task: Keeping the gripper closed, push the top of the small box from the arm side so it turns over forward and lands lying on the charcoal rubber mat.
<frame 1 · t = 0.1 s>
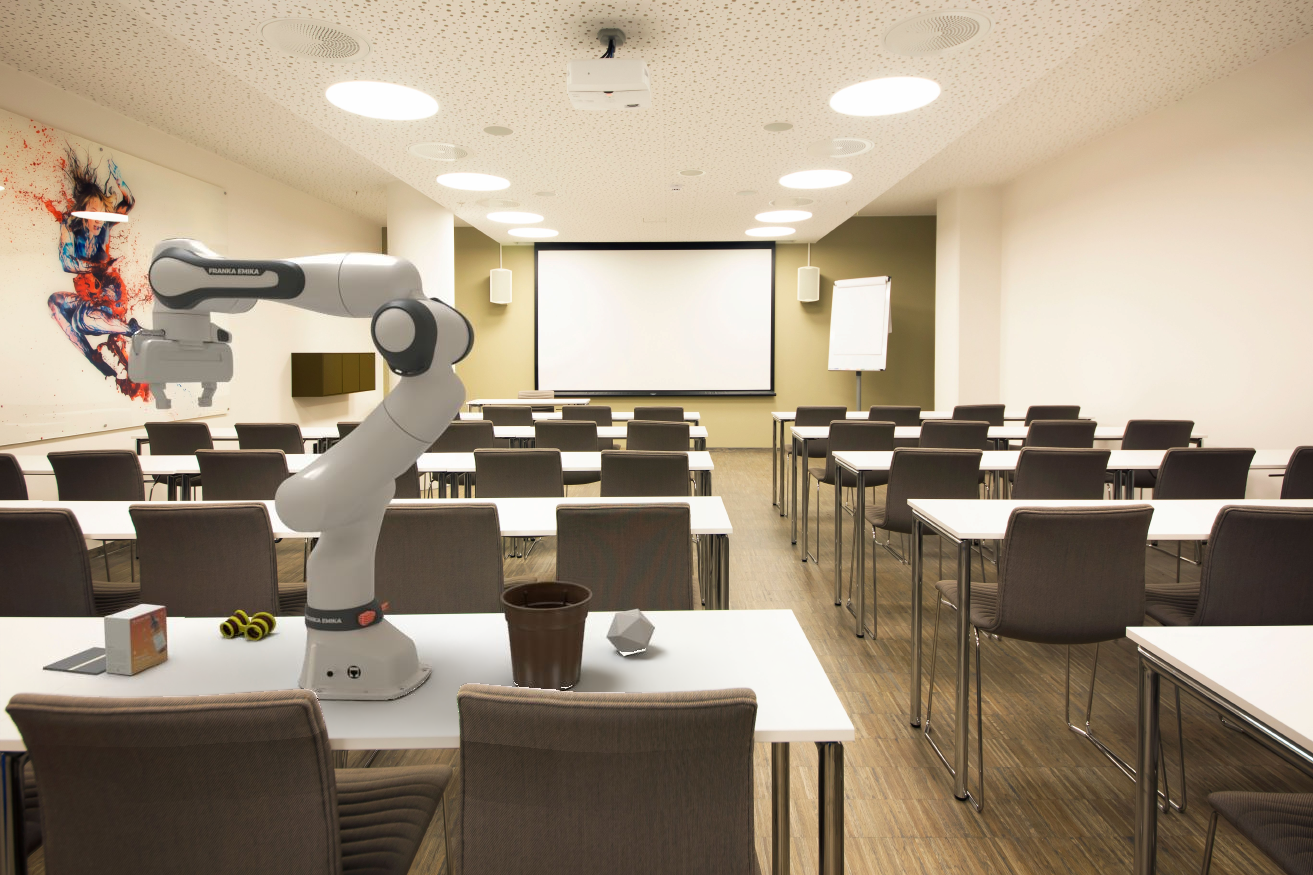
hand: (185, 407, 133), 48 cm above the table, fingers open, 8 cm apart
plant pot: (545, 681, 133), on the table
die: (630, 652, 148), on the table
mat: (95, 661, 137), on the table
small box: (138, 667, 135), on the table
opera glasses: (247, 637, 152), on the table
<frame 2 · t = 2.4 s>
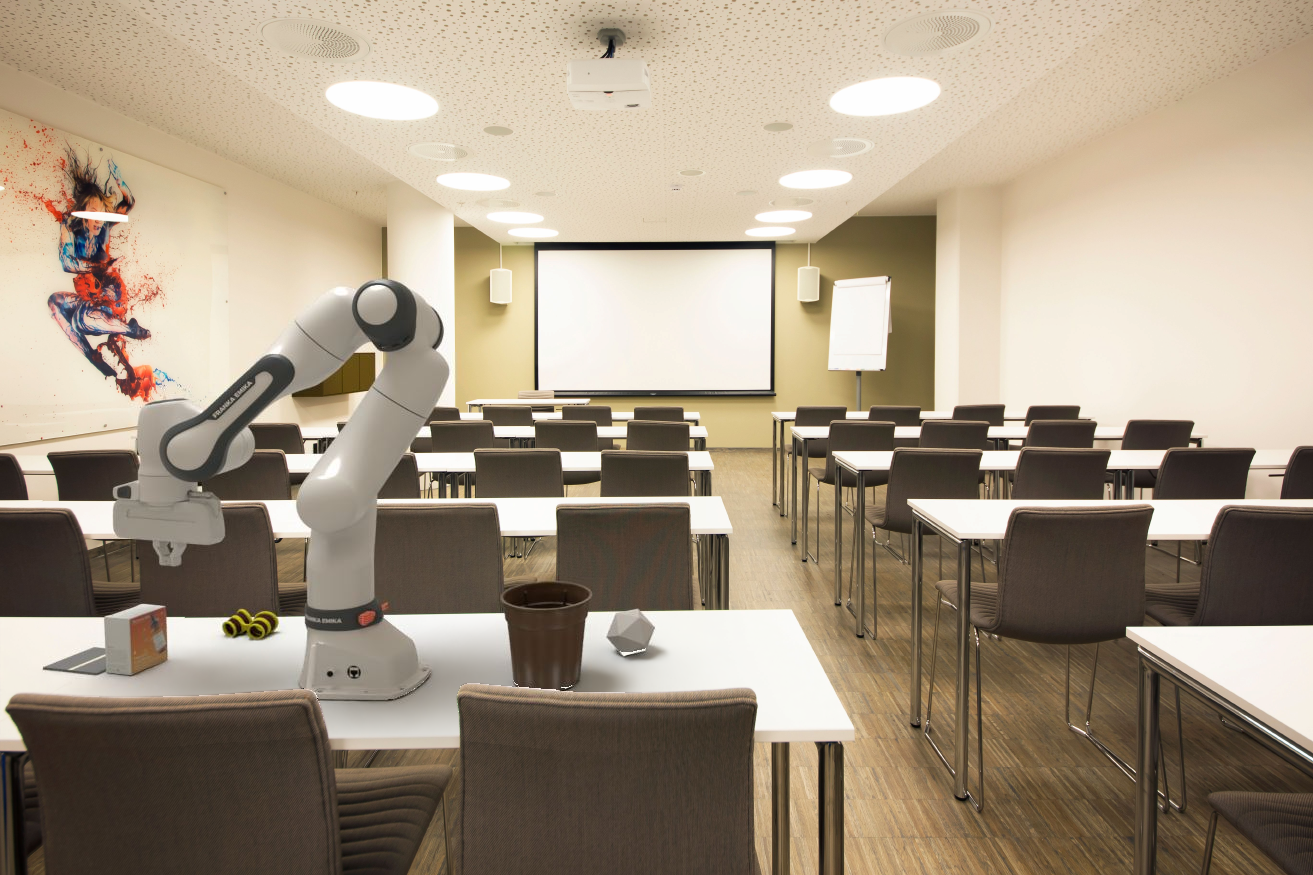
hand: (170, 564, 132), 20 cm above the table, fingers closed
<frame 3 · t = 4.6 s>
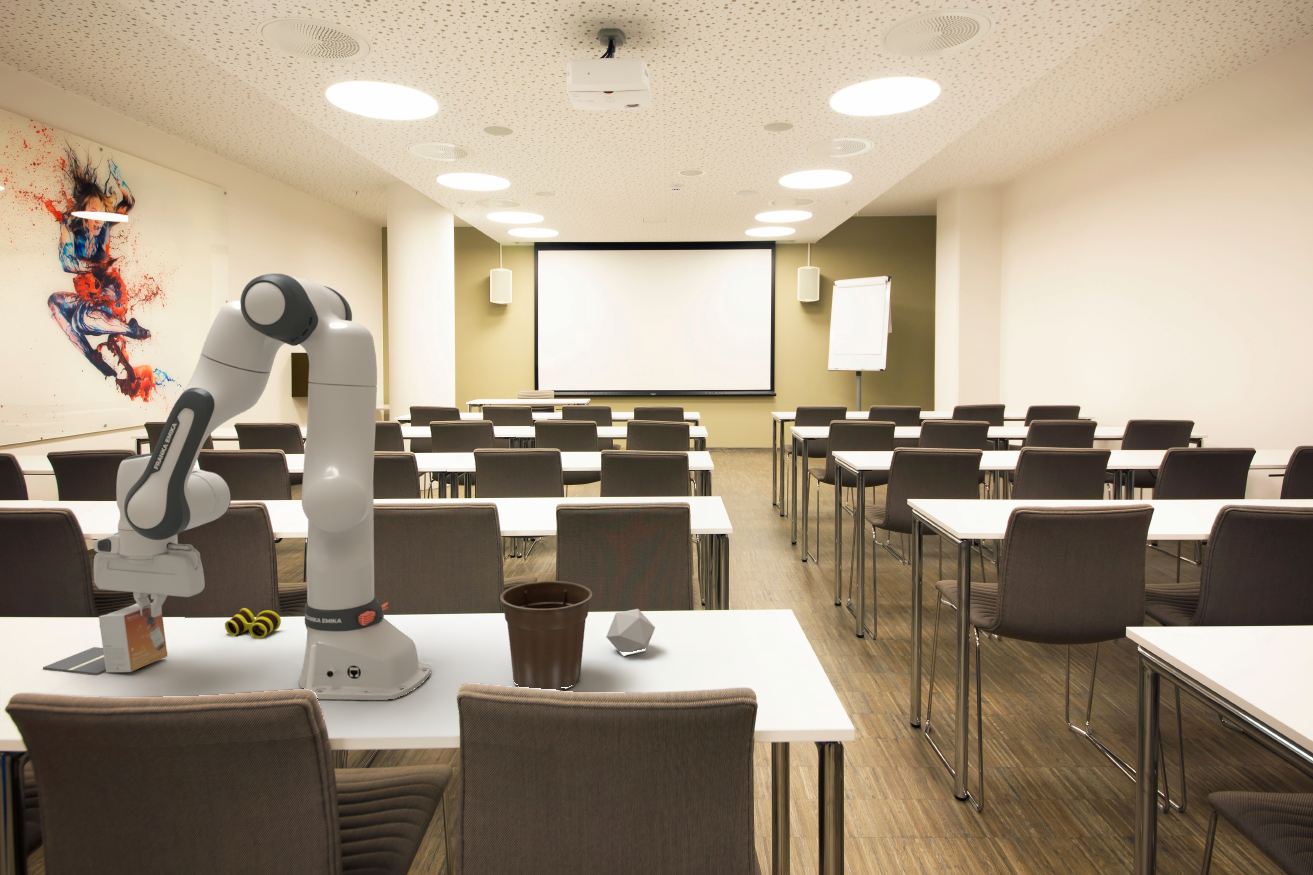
hand: (151, 615, 134), 10 cm above the table, fingers closed
small box: (138, 665, 135), on the table, touching gripper
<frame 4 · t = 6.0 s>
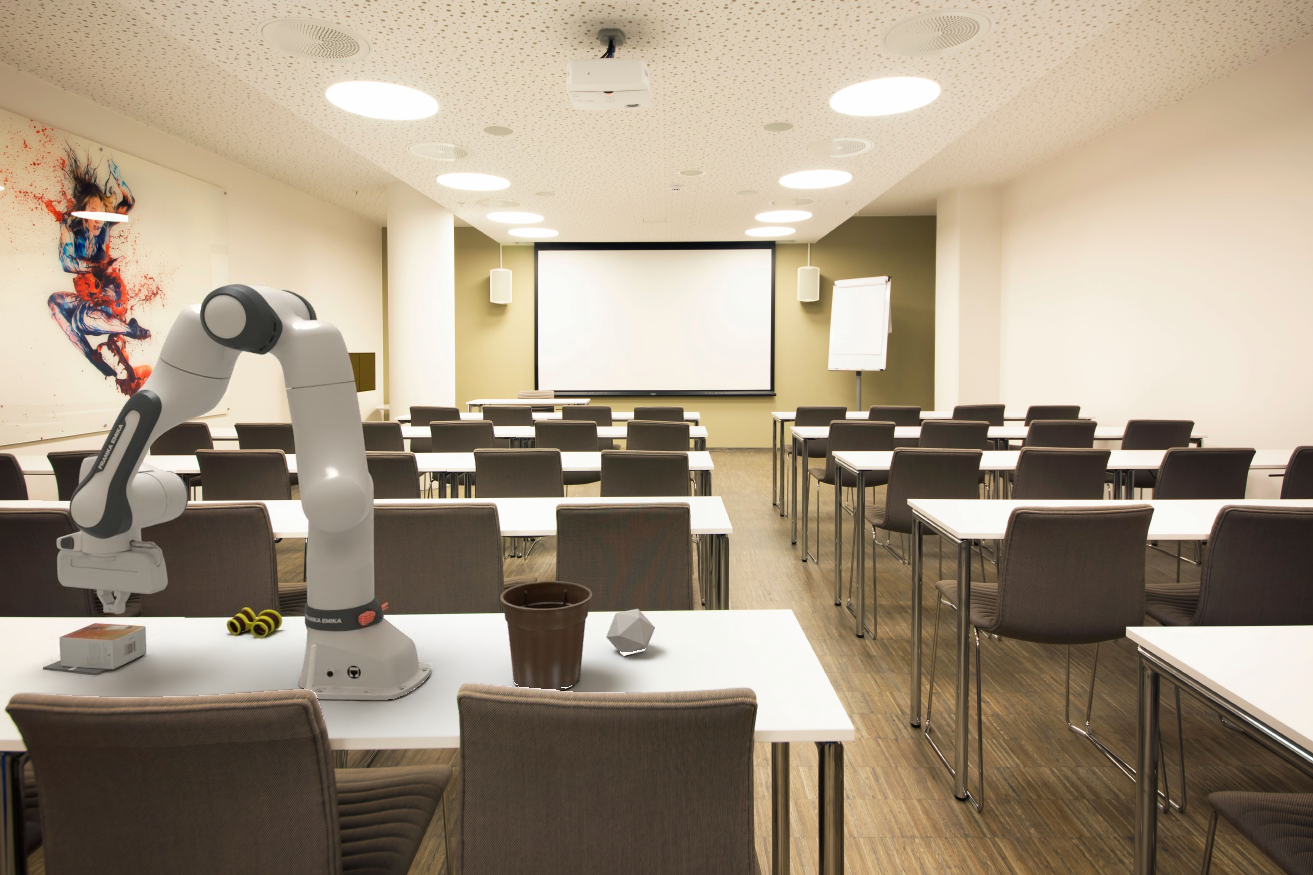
hand: (114, 612, 135), 10 cm above the table, fingers closed
small box: (131, 646, 136), point 3 cm above the table, touching mat
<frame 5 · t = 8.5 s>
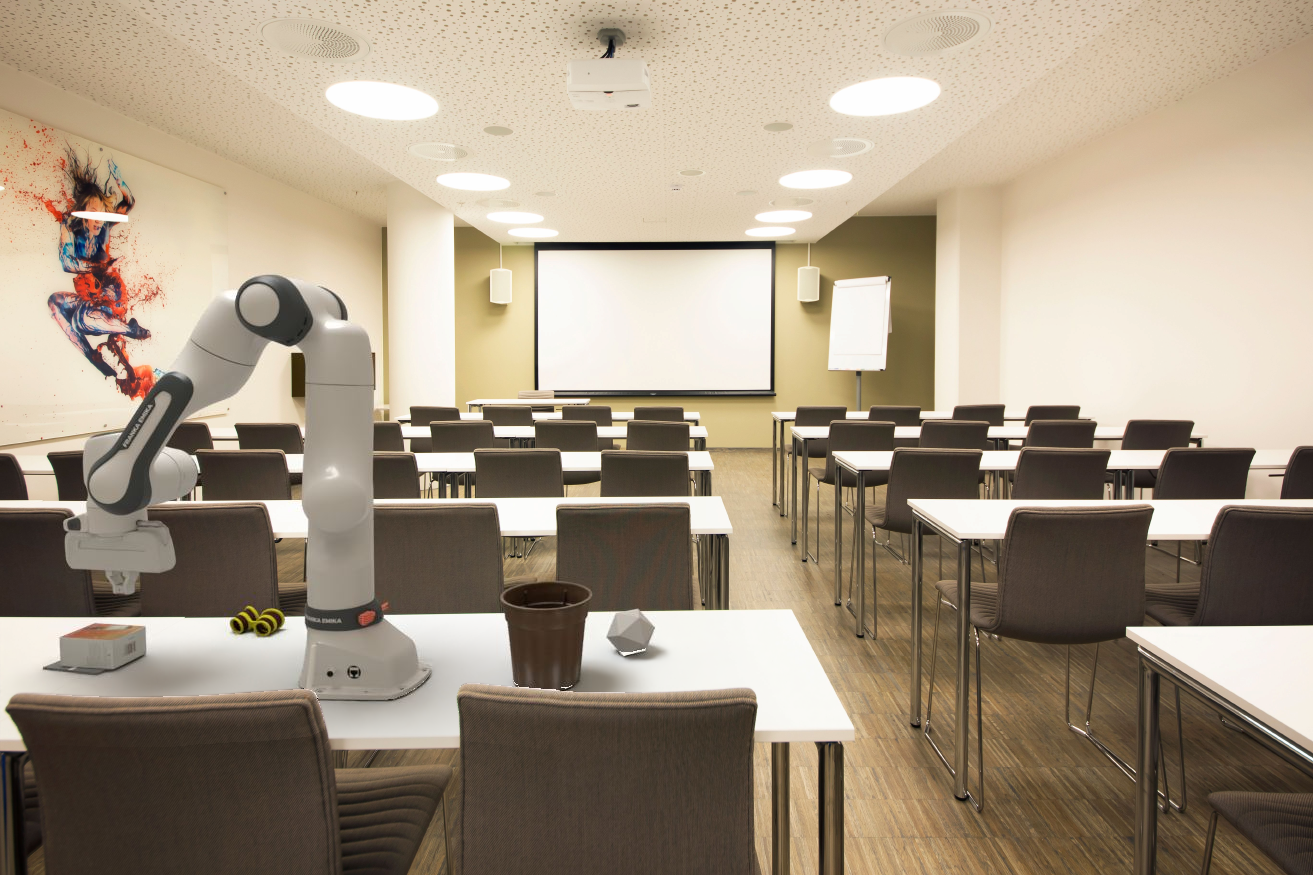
hand: (124, 593, 135), 14 cm above the table, fingers closed
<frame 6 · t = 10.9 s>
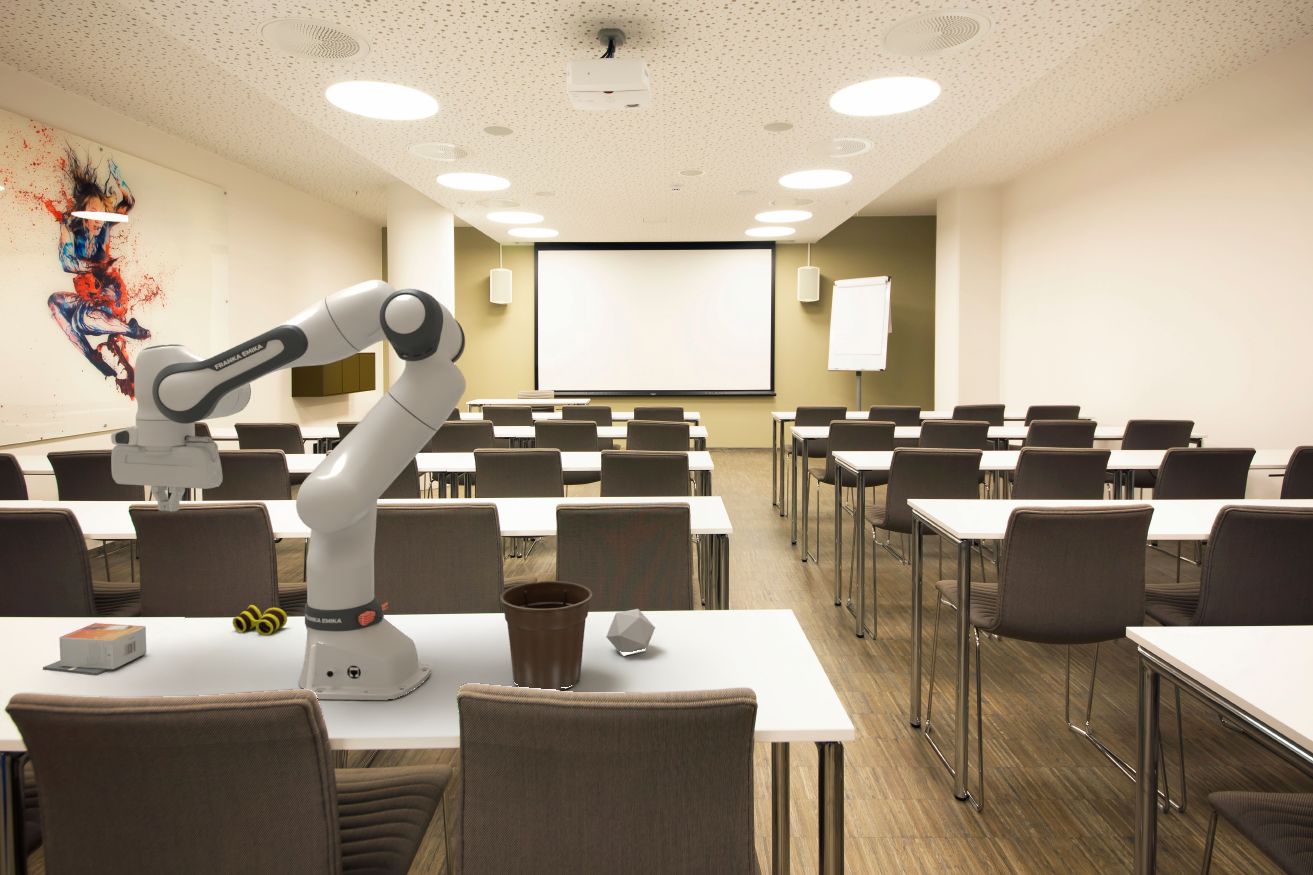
hand: (168, 510, 133), 29 cm above the table, fingers closed
at the end: small box tilted 89°; small box inside the target area (7.0 cm from its centre), point 3.1 cm above the table; the gripper is holding nothing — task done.
